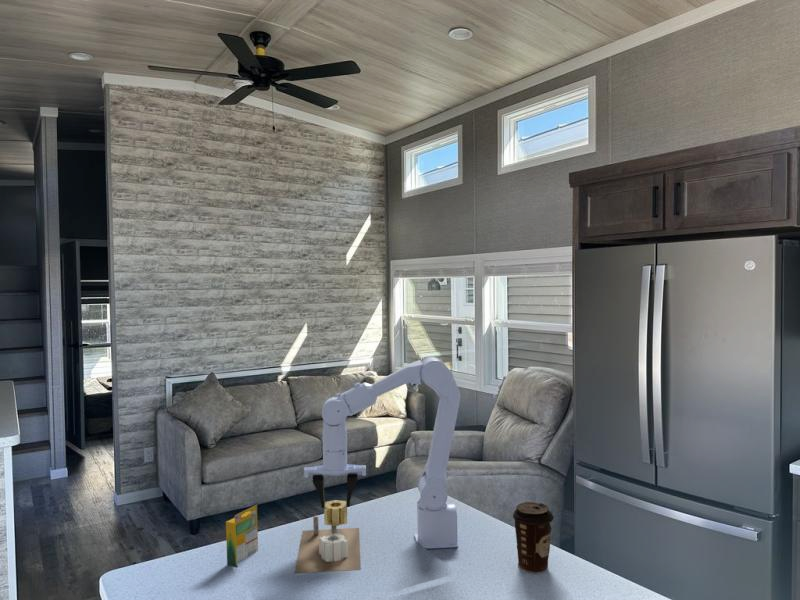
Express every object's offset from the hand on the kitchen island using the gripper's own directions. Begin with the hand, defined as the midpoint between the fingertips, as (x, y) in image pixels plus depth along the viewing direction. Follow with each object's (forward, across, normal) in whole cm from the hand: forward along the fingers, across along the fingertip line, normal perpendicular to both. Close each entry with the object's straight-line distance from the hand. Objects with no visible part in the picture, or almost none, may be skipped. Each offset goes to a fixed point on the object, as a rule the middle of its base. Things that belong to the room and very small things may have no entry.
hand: (335, 505), depth 139 cm
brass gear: (+4, 0, -1) cm, 4 cm away
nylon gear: (+8, 0, +8) cm, 11 cm away
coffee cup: (+10, -43, +16) cm, 47 cm away
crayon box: (+10, +21, +5) cm, 24 cm away
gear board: (+10, +1, +4) cm, 10 cm away
